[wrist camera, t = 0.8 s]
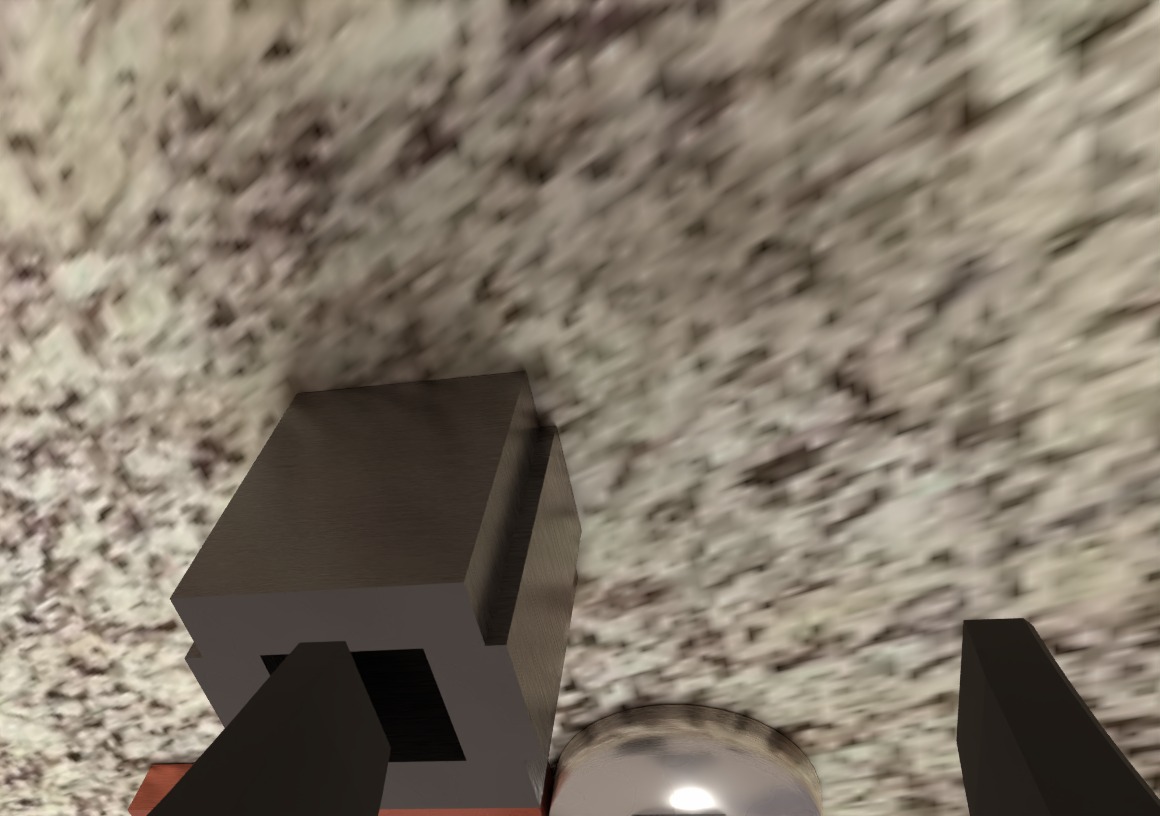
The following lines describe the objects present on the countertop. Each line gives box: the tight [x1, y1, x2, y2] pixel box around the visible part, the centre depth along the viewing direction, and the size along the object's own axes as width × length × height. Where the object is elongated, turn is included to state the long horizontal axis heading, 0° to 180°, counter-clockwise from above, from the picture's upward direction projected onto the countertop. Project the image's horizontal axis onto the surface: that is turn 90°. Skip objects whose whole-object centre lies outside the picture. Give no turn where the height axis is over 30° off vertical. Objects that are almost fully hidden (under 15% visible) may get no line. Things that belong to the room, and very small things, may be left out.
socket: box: [170, 371, 581, 809], centre depth 20 cm, size 6×6×6 cm
